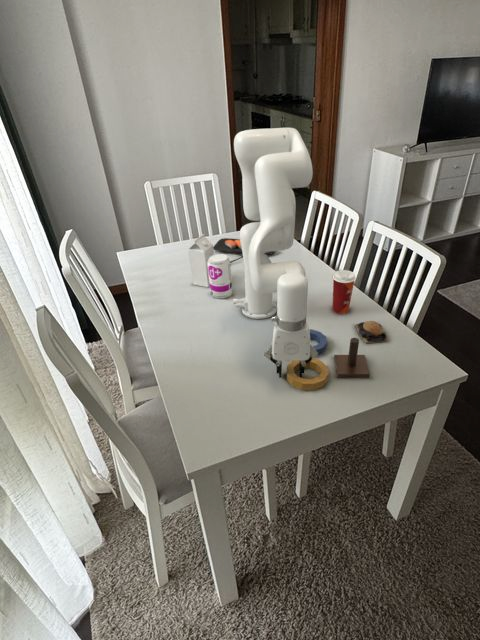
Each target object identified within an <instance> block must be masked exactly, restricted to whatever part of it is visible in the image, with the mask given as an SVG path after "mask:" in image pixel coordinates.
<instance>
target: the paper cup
mask: <svg viewBox="0 0 480 640" xmlns="http://www.w3.org/2000/svg"><path fill="white" fill-rule="evenodd" d="M332 279H333V280H332V281H333V282H332V283H333V284H332V286H333V287H332V311H333V313H335V314H338V315H345V314H347V313H349V311H350V305H351V301H352V295H353V291H354V290H353V289H354V284H355V281H356V275H355V273H354V272H353V271H351V270H348V269H340V270H336V271H335V272H334V274H333V275H332Z"/></svg>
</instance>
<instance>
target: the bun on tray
mask: <svg viewBox="0 0 480 640" xmlns="http://www.w3.org/2000/svg"><path fill="white" fill-rule="evenodd" d="M355 329H356V331H357V333H358V335H359V336H360V339H362V341H363V342H364V344H378V343H379V344H380V343H386V342H388V341H389V339H388V338H387V334H386V333H385V332H384V329H383V326H382V324H380V323H379V322H377V321H375V320H367V321H361V322H359V323H356V324H355Z"/></svg>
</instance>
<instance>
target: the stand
mask: <svg viewBox="0 0 480 640" xmlns="http://www.w3.org/2000/svg"><path fill="white" fill-rule="evenodd" d="M359 345H360V339H359V338H357V337H351V338H350V341H349V349H348V354H334V355H333V361H334V367H335V372H336V378H338V379H370V376H371V372H370V370H369V366H368V362H367V358H366V355H365V354H359V353H358V352H359Z"/></svg>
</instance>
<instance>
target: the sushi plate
mask: <svg viewBox="0 0 480 640" xmlns="http://www.w3.org/2000/svg"><path fill="white" fill-rule="evenodd" d="M213 249H214V251H219V252H226V253H231V254H234V255H236V256H239V257H238V258H236V259H233V260H230V264H232V263H234V262H236V261H238V260H240V259H243V253H242V247H241V243H240V238H231V237H230V238H227V237H225V238H224V237H223V238H220V239H219V240H217V242H216V243H215V244H214V245H213ZM274 253H275V251H271V252H266V253H264V254H265V255H272V254H274Z"/></svg>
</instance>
